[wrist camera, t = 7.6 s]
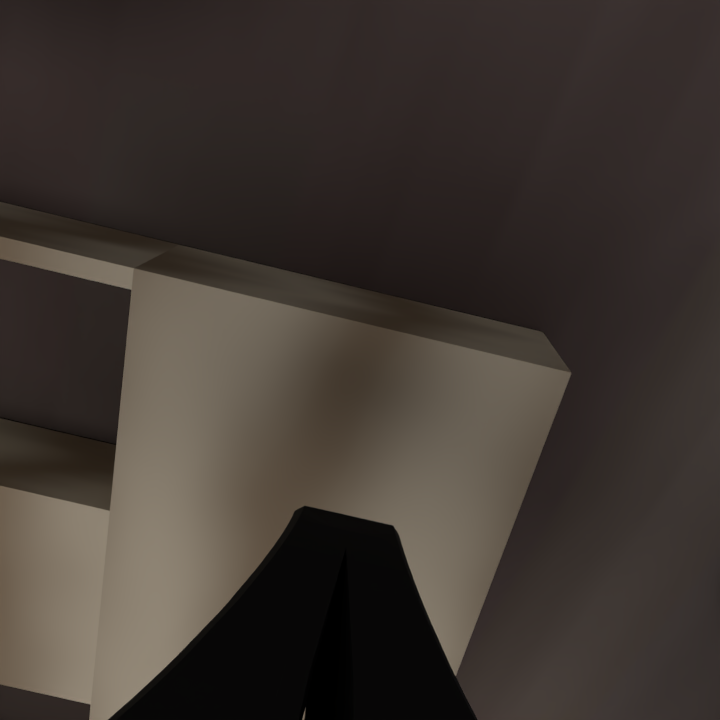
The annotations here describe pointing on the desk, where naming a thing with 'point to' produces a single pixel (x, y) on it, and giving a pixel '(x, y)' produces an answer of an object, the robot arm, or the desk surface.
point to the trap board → (252, 454)
